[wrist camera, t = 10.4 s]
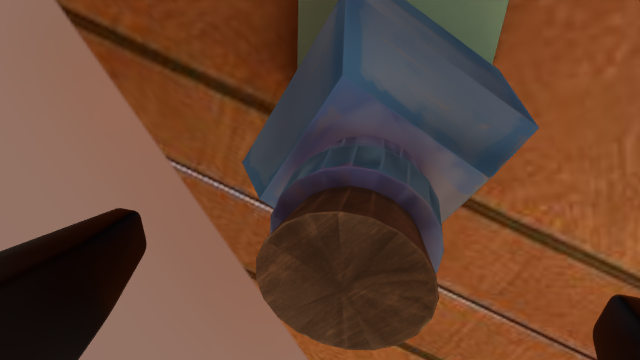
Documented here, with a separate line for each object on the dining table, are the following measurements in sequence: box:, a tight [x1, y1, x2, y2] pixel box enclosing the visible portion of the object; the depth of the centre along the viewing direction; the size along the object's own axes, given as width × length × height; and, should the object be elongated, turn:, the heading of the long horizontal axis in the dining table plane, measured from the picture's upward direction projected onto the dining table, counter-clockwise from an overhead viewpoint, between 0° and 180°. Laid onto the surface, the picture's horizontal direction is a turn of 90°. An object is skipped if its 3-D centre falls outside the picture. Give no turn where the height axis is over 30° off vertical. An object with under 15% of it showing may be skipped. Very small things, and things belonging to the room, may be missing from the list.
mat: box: [297, 0, 509, 69], centre depth 17 cm, size 8×8×1 cm
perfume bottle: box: [242, 0, 539, 350], centre depth 12 cm, size 6×6×12 cm
